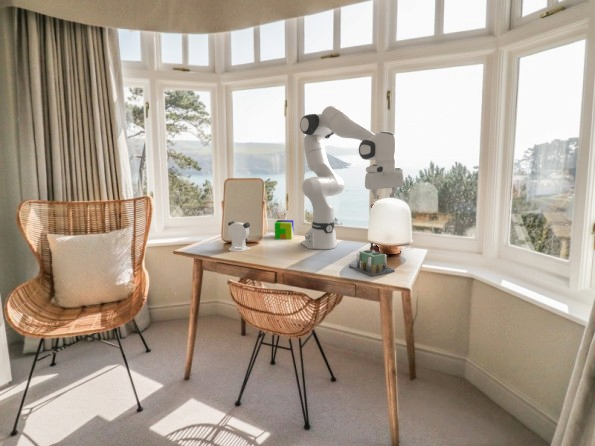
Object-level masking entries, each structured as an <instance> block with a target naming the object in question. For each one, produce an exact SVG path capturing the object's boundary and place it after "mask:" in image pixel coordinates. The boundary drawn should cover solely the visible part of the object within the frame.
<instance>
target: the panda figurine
mask: <svg viewBox="0 0 595 446" xmlns="http://www.w3.org/2000/svg"><path fill="white" fill-rule="evenodd" d="M227 225H228V235H229V237H230V239H231V247H229V248H228V251H229V250H230V252H233V251H234V253H235V252H236V253H239V252H240V253H241V252H246V251H249V250H250V247H249V246H247V245H246V243H247V242H248V237H249V236H250V233H251V230H250V226H251V224H250V223H249V222H247V221H246V222H245V223H244V222H240V221H237V222H235V221H229V222H228V223H227Z"/></svg>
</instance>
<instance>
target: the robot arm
mask: <svg viewBox="0 0 595 446" xmlns="http://www.w3.org/2000/svg"><path fill="white" fill-rule="evenodd" d="M299 128H300V131H301V132H302V133H303V134H304V135H305V136H304V138H303V149H304V154H305V158H306V164H307V167H308V169H309V170H310V171H311V172H313V173H314V174H315V175H316V176H312V177H309V178H306V179H303V180H304V181H303V182H302V186H301V189H302V192H303V195H304V196H305V197H307V198H308V199H309V201H310V203H311V206H312V213H313V214H312V215H313V217H312V218H313V219H312V220H313V221H312V222H310V223H311V228H310V229H309V230H308V231H306V233H305V235H304V239H303V240H301V244H302V245H303V246H305V247H306V248H307V249H310V250H331V249H335V248H337V246H338V245H339V242H337V234H336V233H337V232H336V230H335V221H334V210H335V209H334V207H333V205H332V204H330V203H329V202H328V199H327V197H333V196H337V195H339V194H342V192H343V191H344V189H345V183H344V180H343V178H342V177H340V176H339V175H338V174H336V173H335V171H334V170H333V168H332V167H331V165H330V163H329V160H328V156H327V153H326V147H325V145H324V140H325V139H327V140H328V139H329V138H331V136H333V135H336V136H338V137H340V138H343V139H353V140H359V141H360V143H359V146H358V154H359V157H360V158H361V159H363V160H366V161H372V160H373V161H375V162H374V163H373V164H371V165H369V166H367V167H366V168H365V171H366V173H365V178H364V187H365V189H366V190H371V192H372V195H373V199H374V200H379V197H380V195H379V194H378V193H377V192H378V190H382V189H391V192H390V193H389V198H395V194H396V192H397V191H398V188H402V187H403V186H404V173H403V169H402V167H399V166H396V155H395V154H396V151H397V141H396V140H397V139H396V135H395V133H394V132H393V131H389V130H387V131H386V130H379V131H377V132H376V133H375V132H373V131H372V130H370V129H369V128H367V127H365V126H364V125H363V124H361V123H359V122H358V121H356V120H354V118H352V117H351V116H349V115H348V114H347V113H346V112H344V111H343V110H341V109H339V108H338V107H336V106H332V105H329V106H326V107H325V108H324V109H323V110H322V112H321V114H320V113H310V114H306V115H303V116H302V118H301V120H300V123H299Z"/></svg>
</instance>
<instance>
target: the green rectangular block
mask: <svg viewBox="0 0 595 446" xmlns="http://www.w3.org/2000/svg"><path fill="white" fill-rule="evenodd" d="M358 253H360V262H361V261H363V262H366V263H368V257H371V258H372V259H371V265H379V264H382V265H383V263H384V254H381V253H379V252H375V251H371V250H370V249H367V250H366V249H365V250H361V251H358Z"/></svg>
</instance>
